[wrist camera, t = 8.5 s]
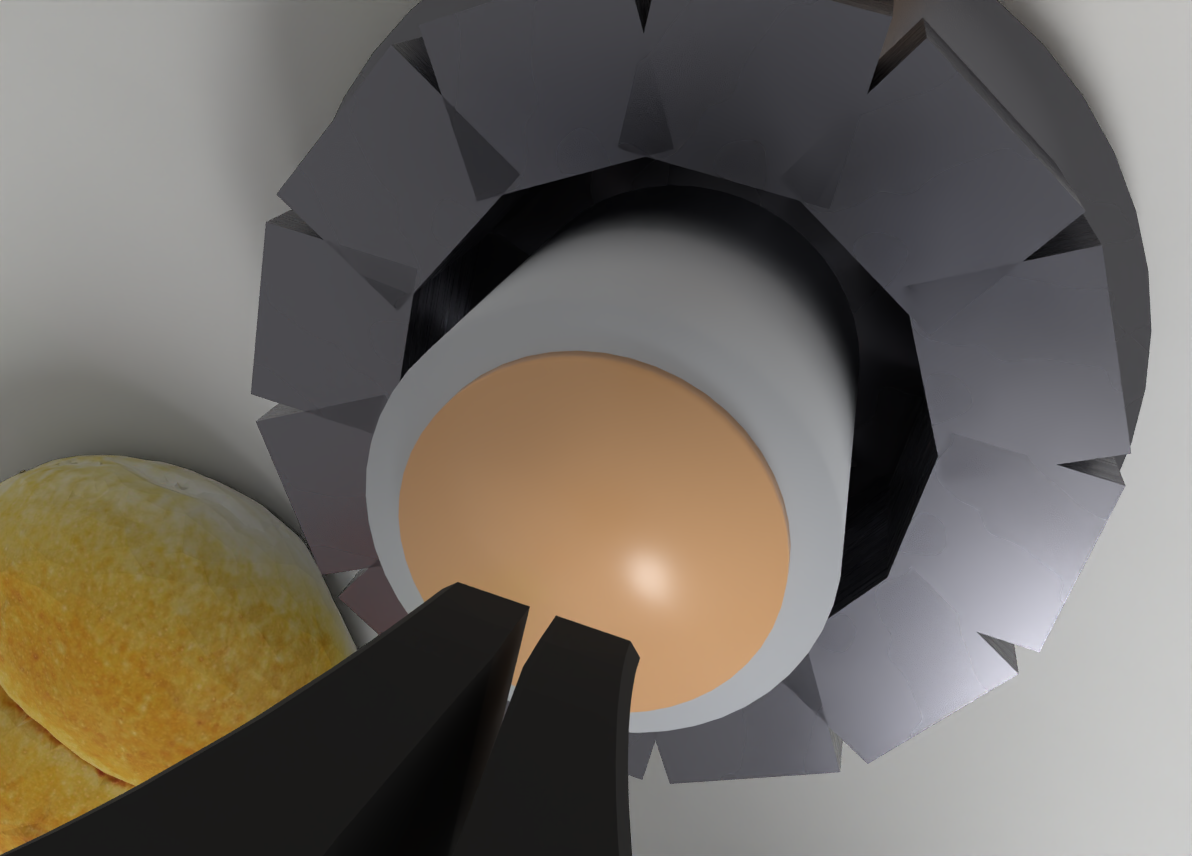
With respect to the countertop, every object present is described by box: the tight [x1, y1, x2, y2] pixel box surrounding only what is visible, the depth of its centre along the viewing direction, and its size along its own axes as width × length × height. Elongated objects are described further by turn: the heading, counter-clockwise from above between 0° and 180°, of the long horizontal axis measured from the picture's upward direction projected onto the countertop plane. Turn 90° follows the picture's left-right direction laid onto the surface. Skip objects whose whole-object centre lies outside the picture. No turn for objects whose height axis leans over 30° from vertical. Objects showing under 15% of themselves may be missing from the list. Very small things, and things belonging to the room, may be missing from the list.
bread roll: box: [0, 455, 357, 855], centre depth 20 cm, size 8×9×4 cm
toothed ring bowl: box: [251, 0, 1151, 784], centre depth 15 cm, size 12×12×3 cm
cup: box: [366, 185, 860, 733], centre depth 13 cm, size 5×5×5 cm
